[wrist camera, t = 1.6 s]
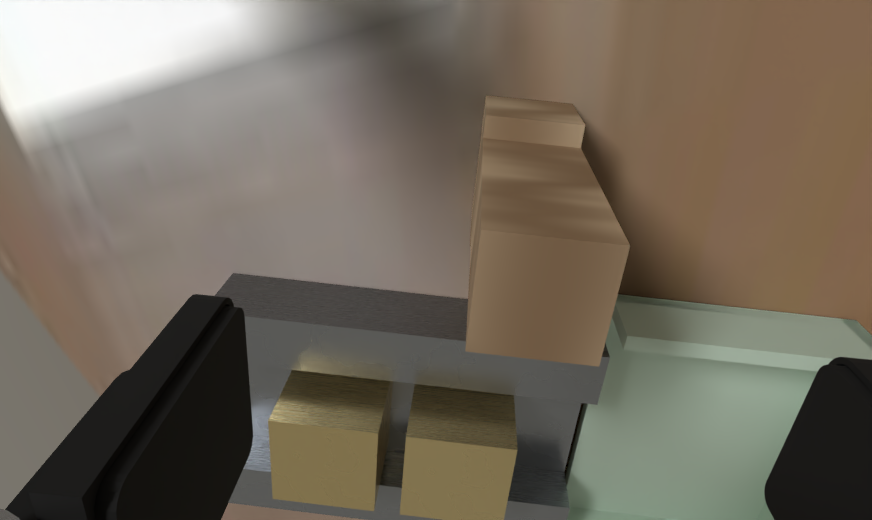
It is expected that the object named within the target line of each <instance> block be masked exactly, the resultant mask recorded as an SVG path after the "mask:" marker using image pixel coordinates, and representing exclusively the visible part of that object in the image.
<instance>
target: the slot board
mask: <svg viewBox="0 0 872 520" xmlns="http://www.w3.org/2000/svg"><path fill="white" fill-rule="evenodd" d="M215 296H219V297H229V298H230V299H232V302H233V304H234V307H240V308H242V309H243V311H244V316H245V330H246V343H247V357H248V370H249V384H250V397H251V411H252V424H253V442H252V447H251V451H250V454H249V457H248V459H247V462H246V464H245V466H244V468H243V471H242V473H241V475H240V477H239V480H238V482H237V484H236V486H235V489H234V491H233V493H232V495H231V498H230V500H229V502H228V503H236V504H244V505H252V506H260V507H268V508H276V509H285V510H293V511H301V512H309V513H317V514H325V515H333V516H342V517H350V518H358V519H366V520H441V519H433V518H425V517H417V516H409V515H400V504H401V492H402V479H403V467H404V454H405V442H406V433H407V427H408V421H409V416H410V410H411V404H412V398H413V392H414V386H415V384H421V385H429V386H438V387H447V388H455V389H464V390H472V391H481V392H490V393H498V394H507V395H514V402H515V418H516V434H517V449H518V450H517V455H516V461H515V466H514V471H513V476H512V481H511V486H510V491H509V496H508V501H507V506H506V511H505V517H504V520H567V517H568V513H569V510H570V506H569V499H568V493H567V486H566V480H565V473H564V471H565V467H566V463H567V459H568V455H569V451H570V447H571V443H572V439H573V435H574V431H575V427H576V423H577V419H578V415H579V411H580V407H581V403H585V404H594V405H597V404H598V401H599V397H600V393H601V389H602V386H603V382H604V378H605V374H606V371H607V367H608V363H609V359H610V356H609V353H608V350H607V347H606V343H605V346H604V350H603V354H602V358H601V361H600V365H599V367H598V366H589V365H580V364H572V363H563V362H554V361H545V360H536V359H528V358H519V357H510V356H501V355H492V354H484V353H475V352H466V351H465V349H466V331H467V312H468V299H460V298H451V297H442V296H433V295H424V294H415V293H406V292H397V291H388V290H379V289H369V288H360V287H351V286H342V285H333V284H324V283H315V282H306V281H297V280H288V279H279V278H270V277H261V276H252V275H243V274H234V273H233V274H232V275H231V276H230V278H229V279H228V280H227V281H226V282H225V284H224V285H223V286H222V287H221V289H220V290H219V291H218V292H217V294H216V295H215ZM292 370H299V371H308V372H317V373H325V374H334V375H343V376H351V377H360V378H369V379H377V380H386V381H393V385H392V401H391V417H390V432H389V441H388V446H387V451H386V456H385V461H384V465H383V470H382V475H381V480H380V485H379V490H378V495H377V500H376V505H375V510H374V511H368V510H359V509H351V508H343V507H335V506H327V505H318V504H310V503H302V502H294V501H286V500H278V499H273V496H272V479H271V462H270V445H269V428H268V420H269V418H270V415H271V413H272V411H273V409H274V407H275V405H276V403H277V401H278V399H279V397H280V394H281V392H282V390H283V388H284V386H285V384H286V382H287V380H288V378H289V376H290V373H291V371H292Z"/></svg>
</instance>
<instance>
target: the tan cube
mask: <svg viewBox="0 0 872 520" xmlns="http://www.w3.org/2000/svg"><path fill="white" fill-rule="evenodd" d="M392 385H393V381H386V380H377V379H369V378H360V377H351V376H343V375H334V374H325V373H317V372H308V371H299V370H292V371H291V373H290V376H289V378H288V380H287V382H286V384H285V386H284V388H283V390H282V392H281V394H280V397H279V399H278V401H277V403H276V405H275V407H274V409H273V411H272V413H271V415H270V418H269V420H268V428H269V445H270V462H271V479H272V496H273V499H278V500H286V501H294V502H302V503H310V504H318V505H327V506H335V507H343V508H351V509H359V510H368V511H374V510H375V505H376V500H377V495H378V490H379V485H380V480H381V475H382V470H383V465H384V461H385V456H386V451H387V446H388V441H389V432H390V417H391V401H392Z"/></svg>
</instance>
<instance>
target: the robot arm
mask: <svg viewBox="0 0 872 520" xmlns="http://www.w3.org/2000/svg"><path fill="white" fill-rule="evenodd" d="M252 442H253V424H252V411H251V397H250V384H249V370H248V357H247V343H246V330H245V316H244V311H243V309H242V308H240V307H234V304H233V302H232V299H230V298H229V297H219V296H208V295H198V294H195V295H192V296H191V297H190V298H189V299H188V300H187V301H186V303H185V304H184V305H183V306H182V307H181V309H180V310H179V311H178V312H177V313H176V315H175V316H174V317H173V318H172V320H171V321H170V322H169V323H168V324H167V326H166V327H165V328H164V329H163V330H162V332H161V333H160V334H159V335H158V336H157V338H156V339H155V340H154V341H153V343H152V344H151V345H150V346H149V347H148V349H147V350H146V351H145V352H144V353H143V355H142V356H141V357H140V358H139V359H138V361H137V362H136V363H135V364H134V365H133V367H132V368H131V369H130V370H128V371H125V372H122V373H121V374H120V375H119V376H118V377H117V378H116V379H115V380H114V381H113V382H112V383H111V385H110V386H109V387H108V388H107V389H106V391H105V392H104V393H103V394H102V395H101V396H100V398H99V399H98V400H97V401H96V402H95V404H94V405H93V406H92V407H91V408H90V410H89V411H88V412H87V413H86V414H85V415H84V417H83V418H82V419H81V420H80V421H79V423H78V424H77V425H76V426H75V427H74V429H73V430H72V431H71V432H70V433H69V434H68V436H67V437H66V438H65V439H64V440H63V442H62V443H61V444H60V445H59V446H58V448H57V449H56V450H55V451H54V452H53V453H52V455H51V456H50V457H49V458H48V459H47V460H46V462H45V463H44V464H43V465H42V466H41V468H40V469H39V470H38V471H37V472H36V473H35V475H34V476H33V477H32V478H31V479H30V481H29V482H28V483H27V484H26V485H25V486H24V488H23V489H22V490H21V491H20V493H19V494H18V495H17V496H16V497H15V498H14V500H13V501H12V502H11V503H10V504H9V505H8V507H7V508H6V509H5V510H3V509H0V520H221V518H222V516H223V514H224V511H225V509H226V507H227V504H228V502H229V500H230V498H231V495H232V493H233V491H234V489H235V486H236V484H237V482H238V480H239V477H240V475H241V473H242V471H243V468H244V466H245V464H246V462H247V459H248V457H249V454H250V451H251V447H252ZM764 495H765V501H766V504H767V507H768V509H769V511H770V513H771V514H772V516H773V518H774V520H872V360H869V359H859V358H848V357H837V358H834V359H833V360H832V361H830V363H829V364H827V365H823V366H822V367H821V368H820V369H819V370H818V372H817V374H816V376H815V378H814V380H813V382H812V385H811V387H810V389H809V391H808V393H807V395H806V397H805V400H804V402H803V404H802V406H801V408H800V410H799V413H798V415H797V417H796V419H795V421H794V423H793V425H792V428H791V430H790V432H789V434H788V436H787V438H786V440H785V443H784V445H783V447H782V449H781V451H780V453H779V455H778V458H777V460H776V462H775V464H774V466H773V468H772V471H771V473H770V475H769V477H768V479H767V481H766V484H765V490H764Z"/></svg>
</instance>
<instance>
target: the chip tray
mask: <svg viewBox="0 0 872 520" xmlns="http://www.w3.org/2000/svg"><path fill="white" fill-rule="evenodd" d="M605 343H606V347H607V350H608V353H609V356H610V359H609V363H608V367H607V371H606V374H605V378H604V382H603V386H602V389H601V393H600V397H599V401H598V404H597V405H594V404H585V403H584V404H583V408H582V412H581V416H580V420H579V424H578V428H577V432H576V436H575V440H574V444H573V448H572V452H571V456H570V460H569V464H568V468H567V472H566V476H565V480H566V486H567V493H568V499H569V506H570V510H569V513H568V517H567V520H774V518H773V516H772V514H771V513H770V511H769V509H768V507H767V504H766V501H765V495H764V490H765V484H766V481H767V479H768V477H769V475H770V473H771V471H772V468H773V466H774V464H775V462H776V460H777V458H778V455H779V453H780V451H781V449H782V447H783V445H784V443H785V440H786V438H787V436H788V434H789V432H790V430H791V428H792V425H793V423H794V421H795V419H796V417H797V415H798V413H799V410H800V408H801V406H802V404H803V402H804V400H805V397H806V395H807V393H808V391H809V389H810V387H811V385H812V382H813V380H814V378H815V376H816V374H817V372H818V370H819V369H820V368H821V367H822V366H823V365H827V364H829V363H830V361H832V360H833V359H834V358H837V357H848V358H859V359H869V360H872V335H871V334H870V333H869V332H868V331H867V330H866V329H864V328H863V327H862V326H861V325H860V324H859V323H858V322H857V321H856V320H848V319H839V318H830V317H821V316H812V315H803V314H794V313H784V312H775V311H766V310H757V309H748V308H739V307H730V306H721V305H712V304H703V303H693V302H684V301H675V300H666V299H657V298H648V297H639V296H630V295H621V294H618V296H617V299H616V303H615V307H614V311H613V315H612V319H611V323H610V327H609V330H608V334H607V338H606V342H605Z"/></svg>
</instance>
